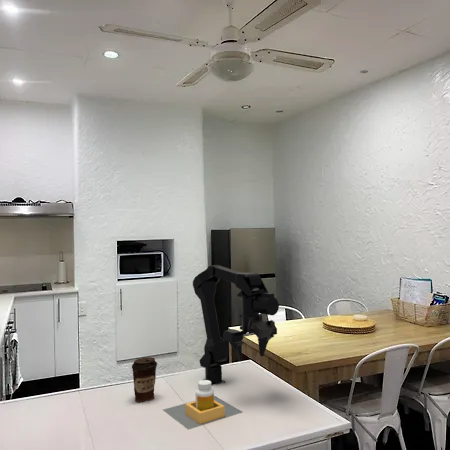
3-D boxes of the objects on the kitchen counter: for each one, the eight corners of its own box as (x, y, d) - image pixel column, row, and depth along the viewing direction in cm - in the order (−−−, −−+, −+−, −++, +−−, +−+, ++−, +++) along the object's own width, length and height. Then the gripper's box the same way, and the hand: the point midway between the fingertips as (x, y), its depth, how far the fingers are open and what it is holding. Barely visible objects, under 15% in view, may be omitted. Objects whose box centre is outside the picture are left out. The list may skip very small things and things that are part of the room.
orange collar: (185, 413, 124) (185, 403, 124) (209, 406, 129) (209, 397, 129) (200, 424, 117) (199, 413, 117) (224, 416, 122) (224, 406, 122)
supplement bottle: (217, 416, 122) (216, 383, 122) (199, 420, 119) (199, 386, 120) (209, 410, 127) (209, 377, 127) (193, 413, 124) (192, 380, 124)
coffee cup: (160, 402, 134) (160, 362, 135) (134, 406, 131) (134, 365, 132) (154, 393, 142) (154, 354, 143) (130, 396, 139) (129, 357, 140)
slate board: (162, 411, 127) (162, 409, 127) (214, 397, 138) (214, 395, 138) (188, 431, 114) (188, 429, 114) (243, 414, 125) (243, 412, 125)
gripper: (242, 318, 126) (243, 370, 125) (288, 311, 136) (288, 359, 136) (222, 313, 135) (222, 361, 134) (265, 306, 145) (266, 351, 145)
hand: (251, 358), depth 137 cm, fingers open, 9 cm apart
